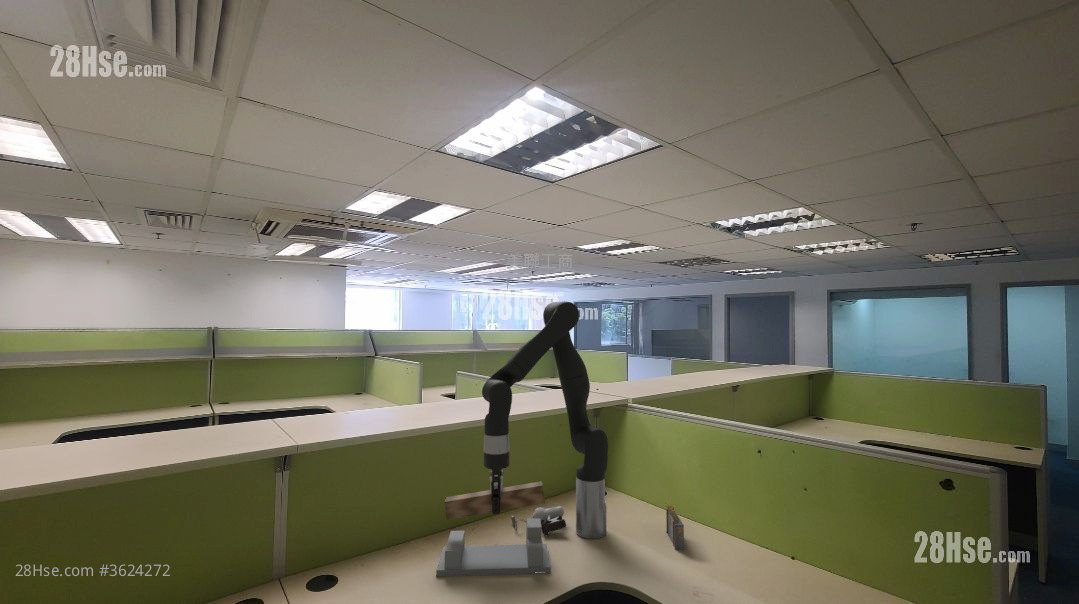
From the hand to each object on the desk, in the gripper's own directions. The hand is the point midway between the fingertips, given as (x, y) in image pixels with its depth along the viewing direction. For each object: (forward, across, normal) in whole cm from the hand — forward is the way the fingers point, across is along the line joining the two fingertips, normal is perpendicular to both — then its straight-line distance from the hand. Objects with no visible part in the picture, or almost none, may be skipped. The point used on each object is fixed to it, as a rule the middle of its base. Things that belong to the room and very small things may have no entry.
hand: (496, 510), depth 125 cm
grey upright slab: (+14, +6, -55) cm, 57 cm away
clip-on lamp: (+13, +18, -13) cm, 26 cm away
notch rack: (+13, -3, 0) cm, 13 cm away
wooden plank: (0, 0, 0) cm, 0 cm away
